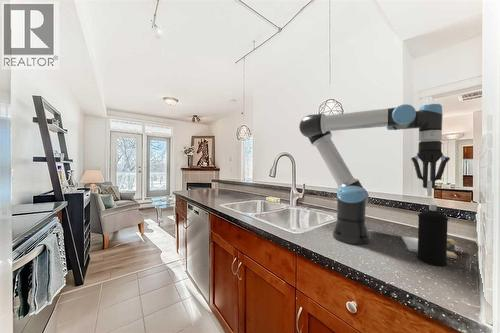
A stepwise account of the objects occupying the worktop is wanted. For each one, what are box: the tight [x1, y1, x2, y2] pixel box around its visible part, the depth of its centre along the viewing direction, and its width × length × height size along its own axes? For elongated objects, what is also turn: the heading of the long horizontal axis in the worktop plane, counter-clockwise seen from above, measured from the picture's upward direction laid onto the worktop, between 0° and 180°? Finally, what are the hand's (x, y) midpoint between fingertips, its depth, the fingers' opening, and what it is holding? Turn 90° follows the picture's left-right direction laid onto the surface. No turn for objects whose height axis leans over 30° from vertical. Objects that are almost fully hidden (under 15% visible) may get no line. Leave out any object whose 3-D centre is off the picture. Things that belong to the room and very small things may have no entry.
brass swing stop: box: [447, 237, 456, 246], centre depth 84 cm, size 10×4×4 cm, turn 67°
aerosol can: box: [416, 204, 449, 267], centre depth 74 cm, size 8×8×20 cm
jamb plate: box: [401, 235, 418, 253], centre depth 87 cm, size 7×15×1 cm, turn 153°
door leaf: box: [447, 243, 458, 260], centre depth 83 cm, size 8×15×4 cm, turn 153°
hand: (428, 195), depth 90 cm, fingers closed
